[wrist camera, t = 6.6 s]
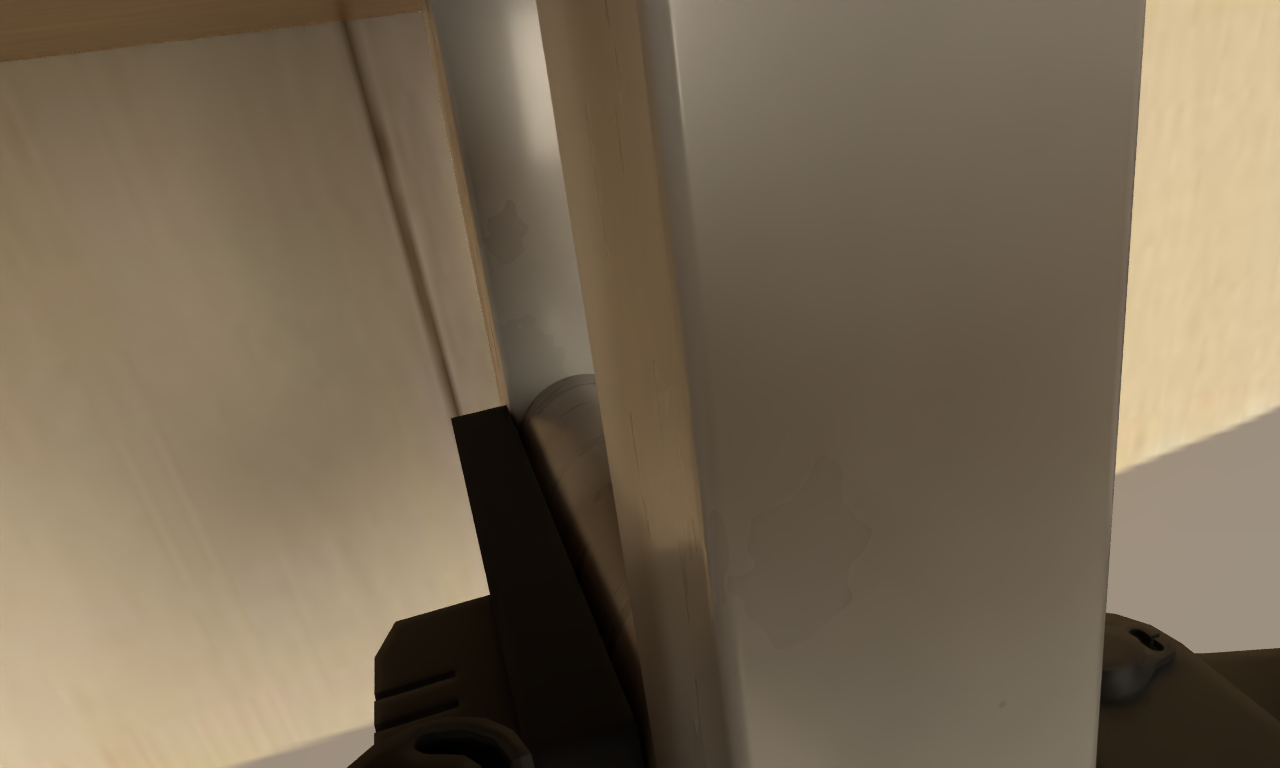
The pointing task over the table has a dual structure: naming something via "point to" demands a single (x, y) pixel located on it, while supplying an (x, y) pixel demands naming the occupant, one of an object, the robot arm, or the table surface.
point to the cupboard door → (794, 343)
